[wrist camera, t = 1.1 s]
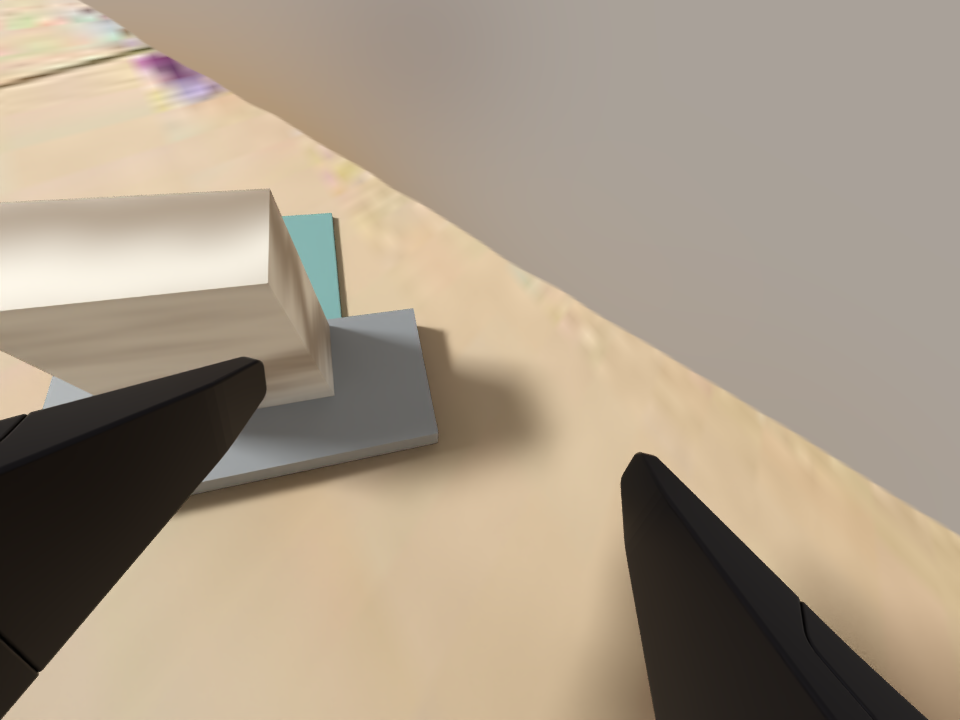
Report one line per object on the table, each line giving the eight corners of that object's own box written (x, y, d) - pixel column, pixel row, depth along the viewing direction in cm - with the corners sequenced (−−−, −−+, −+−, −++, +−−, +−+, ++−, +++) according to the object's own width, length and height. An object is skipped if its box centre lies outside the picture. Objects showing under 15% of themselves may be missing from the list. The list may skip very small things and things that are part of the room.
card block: (334, 395, 21) (267, 283, 13) (157, 426, 19) (-67, 318, 11) (329, 325, 24) (269, 188, 15) (169, 346, 22) (-8, 202, 13)
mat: (342, 328, 26) (341, 325, 25) (71, 365, 22) (65, 362, 22) (332, 216, 31) (331, 213, 30) (109, 232, 27) (105, 228, 27)
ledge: (437, 442, 23) (438, 433, 21) (47, 525, 18) (7, 522, 17) (414, 324, 27) (413, 308, 25) (88, 369, 22) (59, 353, 21)
